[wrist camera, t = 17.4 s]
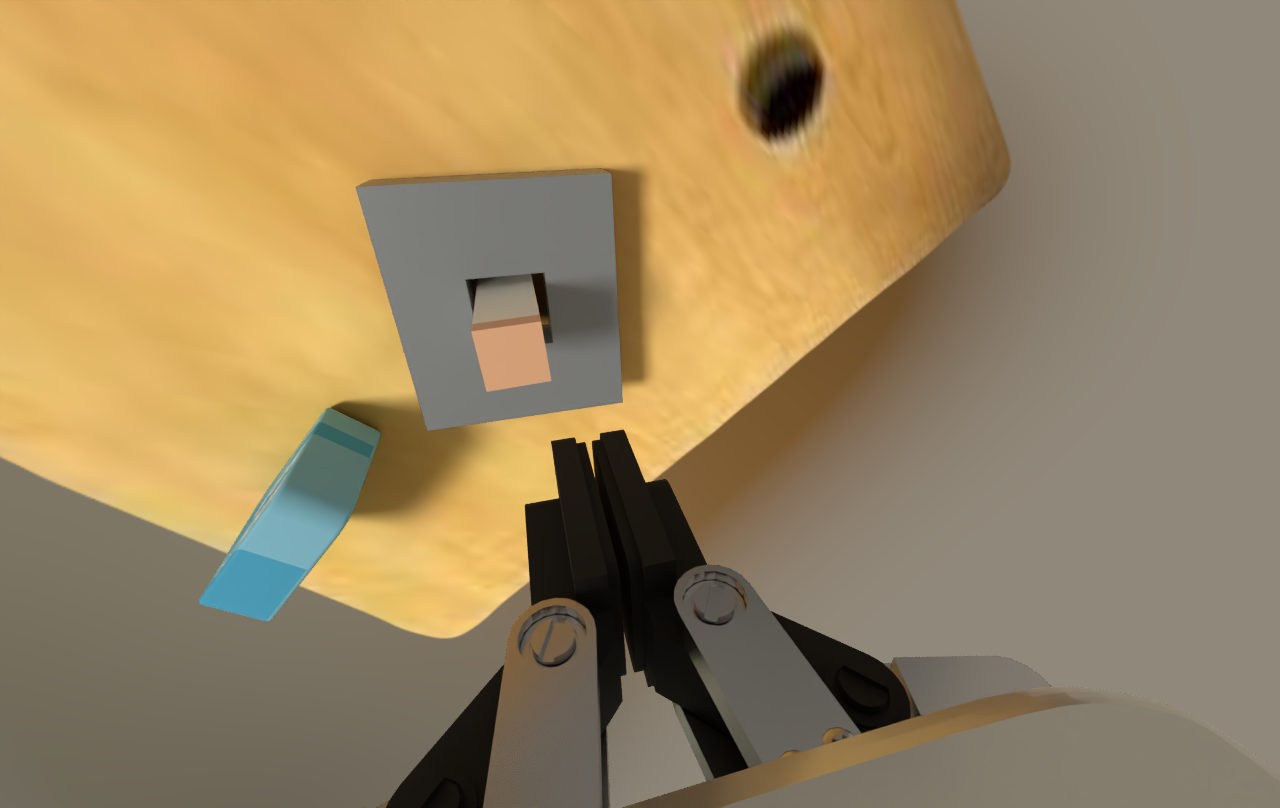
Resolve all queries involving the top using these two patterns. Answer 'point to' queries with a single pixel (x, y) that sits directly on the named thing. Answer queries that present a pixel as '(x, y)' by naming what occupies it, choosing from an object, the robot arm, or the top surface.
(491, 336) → the plug
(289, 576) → the data package
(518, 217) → the socket plate
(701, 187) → the top surface
